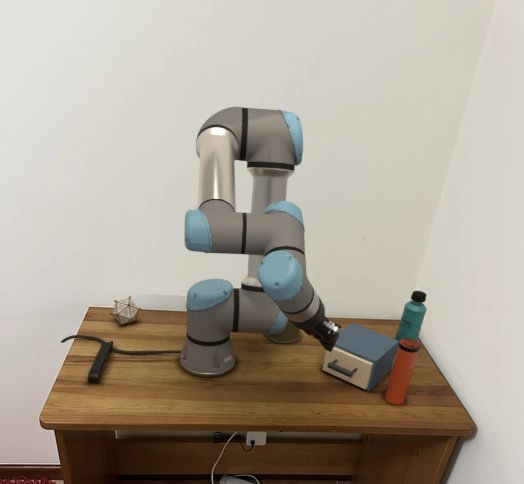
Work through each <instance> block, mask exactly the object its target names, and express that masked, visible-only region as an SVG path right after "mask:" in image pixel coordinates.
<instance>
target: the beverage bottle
mask: <svg viewBox="0 0 524 484" xmlns="http://www.w3.org/2000/svg"><path fill="white" fill-rule="evenodd" d="M426 299H427V293H426V292H424V291H422V290H414V291H412V292H411V295H410V300H409V301H407V302H405V304H404V307H403V311H402V314H401V317H400V321H399V324H398V328H397V331H396V335H395V338H394V339H396V340H398V341H399V340H400V339H403V338H409V339H413V340H415V341H417V342H418V340H419V337H420V333H421V330H422V326H423V323H424V319H425V316H426V312H427V309H428V308H427V306H426V305H425V304H424V303H425V302H426ZM398 344H399V343H398ZM397 349H398V347H397Z"/></svg>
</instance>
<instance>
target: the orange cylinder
mask: <svg viewBox="0 0 524 484" xmlns="http://www.w3.org/2000/svg"><path fill="white" fill-rule="evenodd" d="M421 348H422V347H421V343H420V342H418V341H415V340H413V339H409V338H403V339H400V340H399V344H398V349H397V350H396V354H395V358H394V362H393V365H392V369H391V370H390V375H389V379H388V383H387V387H386V390H385V394H384V400H386V402H388V403H389V404H391V405H396V406H399V405H402V404H403V403H404V402H405V399H406V397H407V393H408V389H409V386H410V383H411V378H412V375H413V372H414V369H415V365H416V362H417V360H418V359H417V358H418V355H419V352H420V350H421Z"/></svg>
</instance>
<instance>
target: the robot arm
mask: <svg viewBox="0 0 524 484" xmlns="http://www.w3.org/2000/svg"><path fill="white" fill-rule="evenodd" d="M195 152H196V155H197V158H198V159H199V163H198V164H199V167H198V181H197V198H196V199H197V200H196V208H195V209H189V210H186V213H185V215H184V246H185V248H186V249H187V250H188V251H190V252H198V253H204V254H223V255H224V254H226V255H245V256H247V255H248V257H247V259H248V261H247V274H246V276H244V278H243V279H242V280H241V281H240V288H237V287H234V285H233V283H232V282H231V281H229V280H227V279H226V280H224V279H223V278H208V279H201V280H200V281H197V282H195V283H193V284H192V285H191V286H190V287H189V289H188V290H187V293H186V301H185V308H186V336H185V337H186V338H185V340H184V343H183V345H182V348H181V349H174V350H173V349H172V350H171V349H169V350H167V349H166V350H165V349H163V350H123V349H118V348H115V347H114V348H112V352H114V353H117V354H122V355H165V354H168V355H169V354H171V355H172V354H175V355H178V354H179V365H180V367H181V368H182V370H184V372H186V373H188V374H189V375H193V376H195V377H200V378H217V377H221V376H224V375H226V374H228V373H230V372H231V371H232V370H233V369H234V367H235V364H236V354H235V351H234V347H233V344H232V341H231V333H233V334H235V333H236V334H259V335H260V334H263V335H266V334H278V333H281V332H282V331H283V330H284V329H285V327H286V324H287V322H288V319H289V321H290V322H291V323H292V324H293V325H294V326H295V327H296V328H298V329H299V330H302V331H303V332H304V333H305V334H306V335H308V336H312V337H313V339H315V340H318V342H319V343H320V344H321V346H322V347H323V349H324V350H325V351H326V350H327V351H329V352H331V351H332V349H333V348H334V346H335V344H336V341H337V340H338V338H339V332H340V331H341V328H342V325H341V324H340V323H334V322H333V323H332V324H330V323H329V321H330V319H329V318H328V317H327V316H326V308H325V304H324V302H323V301H322V299H321V297H320V296H319V294H318V293H317V290H315V289H314V286H313V285H312V283H311V280H310V279H309V278H308V275H307V274H308V273H307V259H306V244H305V243H306V242H305V232H306V231H305V230H306V228H305V224H304V216H303V212H302V210H301V208H300V206H298V205H297V204H295V203H294V202H292V201H287V193H288V192H287V191H288V180H289V178H290V177H292V176H293V174H295V167H296V166H300V165H301V164H302V162H303V154H304V133H303V125H302V121H301V118H300V117H299V115H298V114H297V113H295V112H293V111H287V110H282V109H270V108H269V109H268V108H257V107H256V108H254V107H243V106H230V107H225V108H223V109H221V110H219V111H216V112H215V113H214V114H212V115H210V117H208V118H207V120H205V121H204V123H203V124H202V125H201V127H200V129H199V130H198V132H197V136H196V141H195ZM235 161H239V162H246V171H247V172H248V173H249V174H250V176H251V177H252V183H251V199H250V200H251V201H250V212H238V211H237V209H236V208H237V207H236V205H237V204H236V172H235V171H236V170H235V169H236V168H235V167H236V166H235ZM72 339H86V340H92V341H97V342H99V343H101V344H102V343H103V341H104V340H105V339H102V338H100V337H97V336H92V335H85V334H74V335H69V336H65V338H63V339H62V340H61V341H60V343H61V344H63V343H66V342H67V341H69V340H72Z"/></svg>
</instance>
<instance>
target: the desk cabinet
mask: <svg viewBox="0 0 524 484" xmlns="http://www.w3.org/2000/svg"><path fill="white" fill-rule="evenodd" d="M398 343H399V341H398V340H396V339H395V338H393V337H391V336H388V335H385V334H383V333H381V332H377V331H376V330H372V329H370V328H367V327H365V326H362V325H360V324H357V323H354V322H351V323H350V324H348V325H347V326H346V327H344V328H343V329H342V330H339V338H338V340H337V341H336V344H335V347H337V348H340V349H342V350H345V351H347V352H349V353H352V354H354V355H356V356H359V357H361V358H363V359H366V360H368V361H370V362H373V367H372V371H371V375H370V379H369V383H368V387H367V389H366V390H365V391H366V392H367V391H368V392H370V391H371V390H372V389H373V388H374V387H375V386H376V385H377V384H378V383H379V382H380V381H381V380H382V379H383V378H384V377H385V376H386V375H388V373H390V372H391V371H392V368H393V364H394V360H395V356H396V353H397V347H398ZM324 358H325V356H324ZM324 358H323V359H324ZM331 375H333V374H331ZM333 376H334V377H336V376H335V375H333ZM344 381H346V380H344ZM346 382H347V381H346ZM355 386H357V385H355ZM357 387H358V388H360V387H359V386H357Z"/></svg>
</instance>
